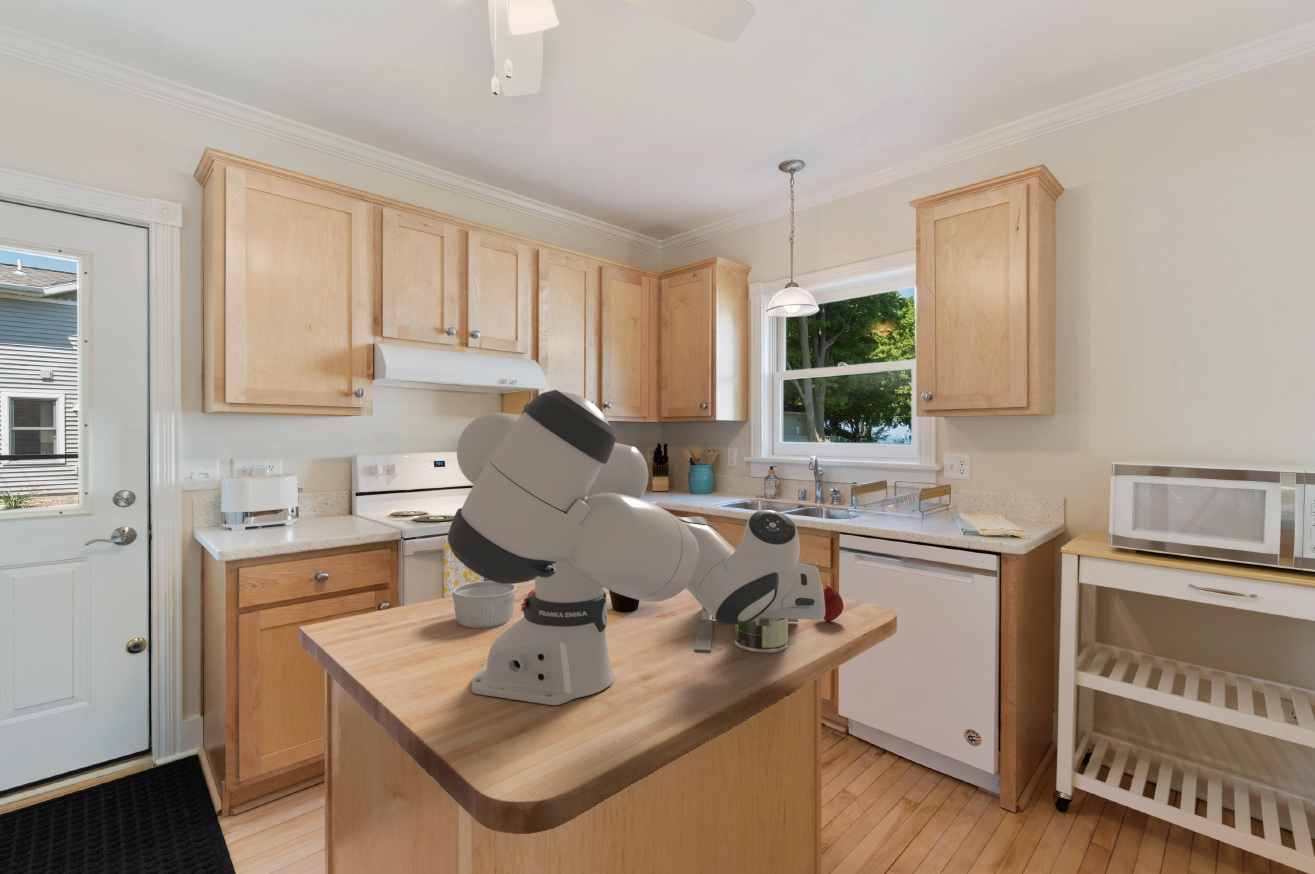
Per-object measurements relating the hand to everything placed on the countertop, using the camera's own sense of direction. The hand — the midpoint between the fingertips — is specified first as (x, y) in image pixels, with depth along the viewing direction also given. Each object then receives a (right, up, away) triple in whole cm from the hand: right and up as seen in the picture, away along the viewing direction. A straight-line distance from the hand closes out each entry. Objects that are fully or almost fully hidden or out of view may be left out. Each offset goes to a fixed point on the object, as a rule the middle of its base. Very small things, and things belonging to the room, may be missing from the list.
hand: (763, 622), depth 112 cm
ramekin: (-56, -6, +20) cm, 60 cm away
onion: (+17, -6, +19) cm, 26 cm away
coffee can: (+1, -6, +6) cm, 8 cm away
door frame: (-9, -6, +15) cm, 19 cm away
